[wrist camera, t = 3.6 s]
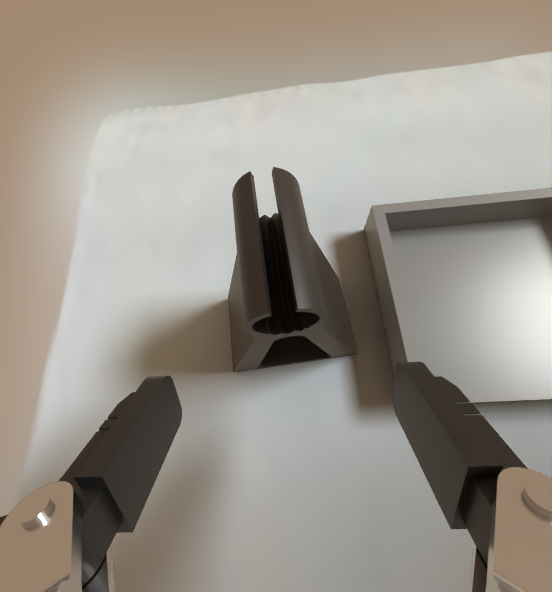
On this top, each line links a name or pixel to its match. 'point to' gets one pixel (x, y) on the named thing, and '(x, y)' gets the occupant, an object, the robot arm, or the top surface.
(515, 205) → the tray
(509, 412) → the top surface
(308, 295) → the phone stand
